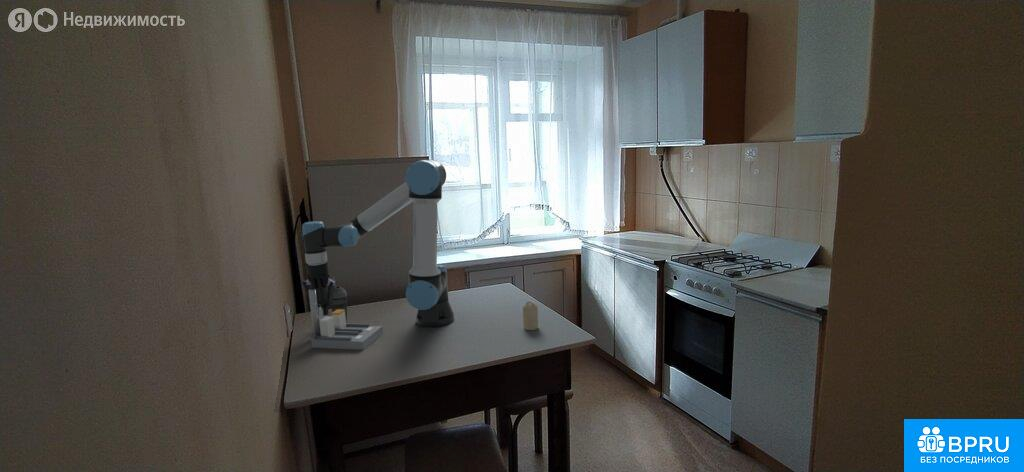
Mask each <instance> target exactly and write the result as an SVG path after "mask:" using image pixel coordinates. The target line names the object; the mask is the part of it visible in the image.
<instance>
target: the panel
mask: <svg viewBox="0 0 1024 472" xmlns="http://www.w3.org/2000/svg"><path fill="white" fill-rule="evenodd" d="M334 329H335V335H333V336H332V337H330V336H318V337H317V339H314V338H312V339H311V345H312V346H311V347H312V349H336V350H357V351H358V350H363V351H364V350H366V348H368V347H369V346H370V345H371V344H372V343H374V342H375V341H376V340H377V339H378V338H380V337H381V336H382V335H383V334H384V330H383V329H384V328H383V326H382V325H370V323H353V322H352V323H351V322H347V323H346V327H345V328H334ZM379 336H380V337H379Z"/></svg>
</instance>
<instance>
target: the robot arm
mask: <svg viewBox="0 0 1024 472" xmlns="http://www.w3.org/2000/svg"><path fill="white" fill-rule="evenodd" d="M446 180H447V172H446V169H445V166H444V165H443V164H442V163H441V162H439V161H437V160H435V159H419V160H417V161H414V163H412V164H411V165H409V167H408V168H407V171H406V173H405V182H404V183H402V184H401V185H399V186H398V187H396V188H395V189H393V190H392V191H391V192H389V193H388V194H386V195H385V196H383V198H381V199H379V200H378V201H377V202H375V203H374V204H372V205H371V206H369V208H367V209H366V210H364V211H362V212H361V213H360V214H359V215H357V216H356V217H354V218H353V219H352V220H350V221H348V222H347V223H344V224H341V225H338V226H325V224H324V222H323V221H321V220H320V221H319V220H318V221H317V220H316V221H314V220H312V221H306V222H304V223H303V224H302V225H301V228H302V229H301V230H302V231H301V232H302V234H301V235H302V241H303V248H304V257H305V258H304V259H305V264H306V274H307V279H306V280H304V281H302V282H301V283H302V286H303V287H304V288H305V291H306V293H307V297H308V298H309V292H308V290H310V289H316V297H317V305H318V314H319V320H320V319H322V318H324V317H325V316H328V315H329V314H330V313H329V306H331V304H332V303H333V294H334V288H335V284H337V280H336V279H334V281H333V279H332V278H331V277H330V274H329V272H330V269H329V262H328V253H327V248H338V247H339V248H344V247H345V248H349V247H354V246H357V244H358V242H359V240H360V239H362V238H363V237H364V236H366V234H367V233H369V232H370V231H372V230H373V229H375V228H376V227H378V226H379V225H381V224H382V223H383V222H385V221H386V220H388V219H389V218H391V217H392V216H393V215H395V214H396V213H398V212H399V211H401V210H402V209H403V208H405V207H406V206H408V205H409V204H411V203H413V204H412V207H413V208H412V210H413V211H412V212H413V213H412V216H413V217H412V219H413V221H412V225H413V226H412V227H413V228H412V236H413V237H412V238H413V239H412V242H413V244H412V250H413V251H412V257H413V258H412V262H413V263H412V268H410V269H409V271H408V285H407V288H406V291H405V298H406V301H407V302H408V304H409V305H410V306H412V308H414V309H415V310H417V312H416V318H415V319H416V320H415V321H416V324H417V325H418V326H421V327H426V328H434V327H442V326H446V325H449V324H451V323H452V322H454V321H455V314H454V311H453V308H452V306H451V303H450V301H449V300H450V299H449V288H448V287H449V286H448V271H447V267H446V266H445V265H444V264H438V203H439V202H440V201H441V200H442V196H443V195H442V193H443V192H442V191H443V188H442V187H443V186H444V185H445V182H446Z"/></svg>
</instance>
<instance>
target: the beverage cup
mask: <svg viewBox="0 0 1024 472" xmlns="http://www.w3.org/2000/svg"><path fill="white" fill-rule="evenodd" d="M332 280H333V281H334V280H335V276H332ZM336 284H337V283H336ZM336 284H335V286H334V294H333V303H332V304H331V305H330V308H331V313H332V312H334V311H335V310H337V309H345V317H346V323H348V303H347V302H348V294H347V293H348V292H347V291H346V289H344V288H343V287H340V286H337V285H336Z"/></svg>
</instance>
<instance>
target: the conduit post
mask: <svg viewBox="0 0 1024 472" xmlns="http://www.w3.org/2000/svg"><path fill="white" fill-rule="evenodd" d="M308 292H309V297H308V299H309V307H310V308H309V309H310V315H311V322H312V323H311V324H312V334H313V339H317V337H318V336H321V331H320V322H319V320H320V317H319V314H318V305H317V297H316V289H310V290H308Z"/></svg>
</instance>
